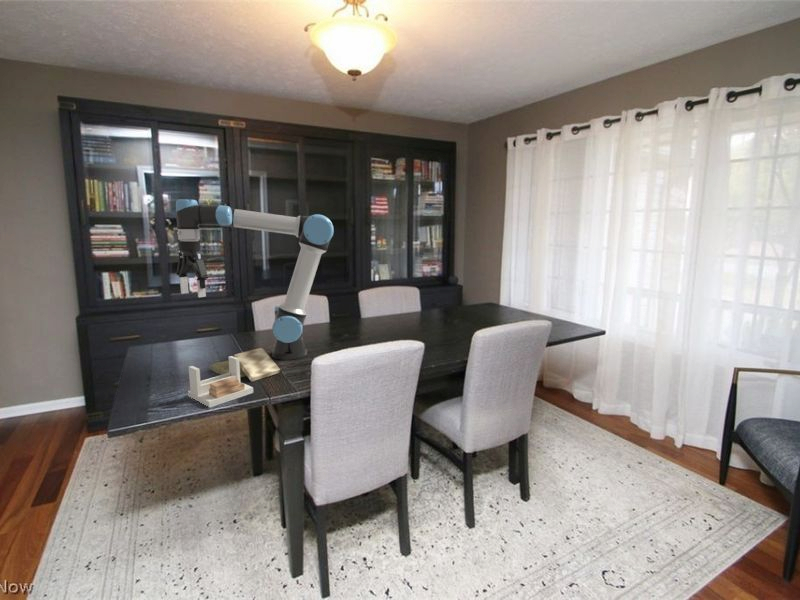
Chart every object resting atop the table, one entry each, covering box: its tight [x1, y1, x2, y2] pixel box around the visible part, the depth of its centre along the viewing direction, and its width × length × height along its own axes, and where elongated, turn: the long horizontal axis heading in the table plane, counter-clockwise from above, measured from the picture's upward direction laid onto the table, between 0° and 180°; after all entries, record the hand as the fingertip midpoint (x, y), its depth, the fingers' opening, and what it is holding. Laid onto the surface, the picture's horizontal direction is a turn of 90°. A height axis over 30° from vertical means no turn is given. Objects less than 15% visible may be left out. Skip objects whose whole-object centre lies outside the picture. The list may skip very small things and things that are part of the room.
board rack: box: [187, 355, 254, 408], centre depth 144 cm, size 16×14×11 cm
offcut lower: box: [209, 381, 245, 398], centre depth 142 cm, size 10×5×2 cm, turn 142°
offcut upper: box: [210, 377, 239, 392], centre depth 141 cm, size 8×4×2 cm, turn 142°
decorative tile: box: [210, 359, 278, 379], centre depth 171 cm, size 19×20×4 cm
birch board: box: [233, 347, 281, 383], centre depth 165 cm, size 12×2×14 cm
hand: (193, 295), depth 165 cm, fingers open, 13 cm apart
